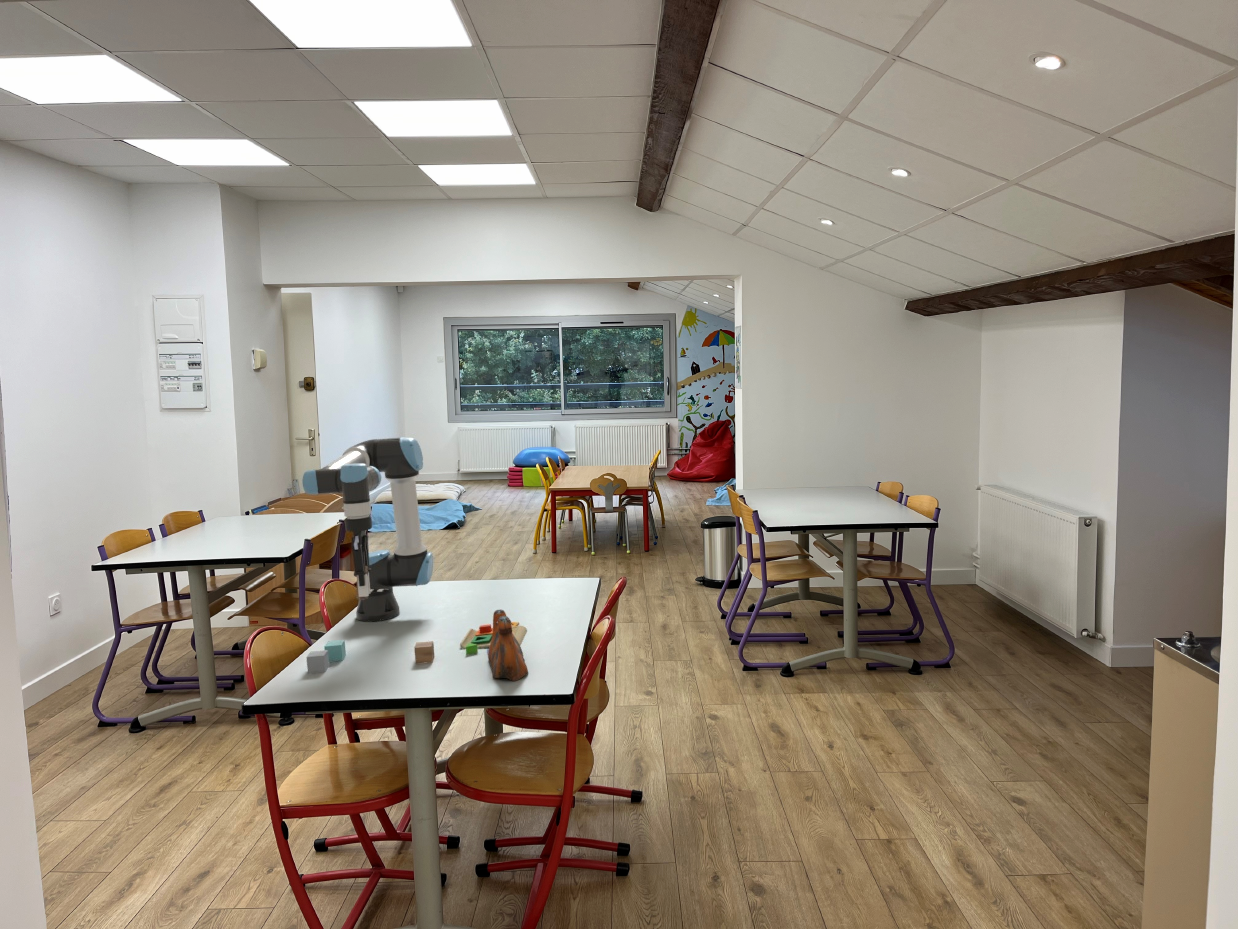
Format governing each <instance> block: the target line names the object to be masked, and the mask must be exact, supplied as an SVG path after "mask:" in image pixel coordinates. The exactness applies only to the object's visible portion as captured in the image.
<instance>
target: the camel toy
mask: <svg viewBox="0 0 1238 929" xmlns="http://www.w3.org/2000/svg"><path fill="white" fill-rule="evenodd" d="M511 622H512V621H511V619H510V617H509V616H507V613H506V611H504V609H501V608H499V609H496V610H494V612H493V616H492V628H493V634H492V640H491V642H490V647H489V648H488V649H489V650H488V653H487V658H488V661H489V663H490V668H491V670H492V675H491V676H492V678H493V679H500V678H504V679H508V680H510V681H513V682H515V681H519V680H521V679H523V677H524V676H526V675H527V674H528V672H529V669H528V667H527V663H526V662H525V661H526V659H525V658H524V655H525V654H524V651H523V650H522V647H521V645H520V644H519V643H518V641H517V639H516V638H515V637H514V635H513V633H512V626H513V625H512V623H511Z"/></svg>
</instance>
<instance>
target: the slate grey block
mask: <svg viewBox="0 0 1238 929" xmlns="http://www.w3.org/2000/svg"><path fill="white" fill-rule="evenodd" d="M305 658H306V668H307V674H313V673H317V672H318V673H326V672H327V671H328V670H329V669H328V668H330V662H329V657H328V650H325V649H323V650H316V651H315V650H314V651H310V652H309V653H308V654H307V656H306V657H305Z"/></svg>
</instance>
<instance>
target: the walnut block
mask: <svg viewBox="0 0 1238 929" xmlns="http://www.w3.org/2000/svg"><path fill="white" fill-rule="evenodd" d="M413 649H414V659H415V660H414V662H415V665H417V664H429V663H430V664H431V663H433V662H434V659H435V657H436V656H435V642H434V641H433V640H432V641H431V640H430V641H429V640H428V641H419V642H416V643H415V645H414V648H413Z"/></svg>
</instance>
